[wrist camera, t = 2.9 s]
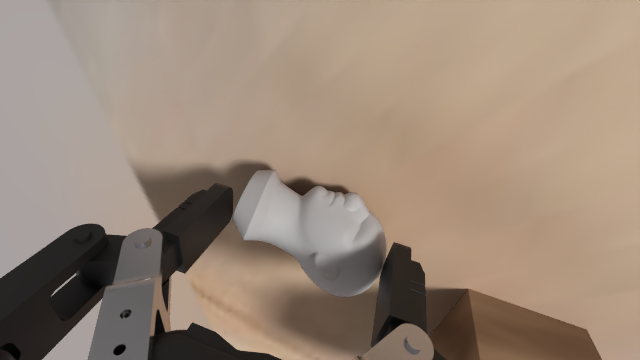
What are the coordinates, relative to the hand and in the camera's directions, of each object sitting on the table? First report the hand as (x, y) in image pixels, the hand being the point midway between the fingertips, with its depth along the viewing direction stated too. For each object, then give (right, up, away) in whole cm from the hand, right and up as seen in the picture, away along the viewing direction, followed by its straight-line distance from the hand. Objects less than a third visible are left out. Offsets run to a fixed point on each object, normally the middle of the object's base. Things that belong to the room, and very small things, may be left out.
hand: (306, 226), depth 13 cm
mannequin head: (+1, +1, +2) cm, 3 cm away
